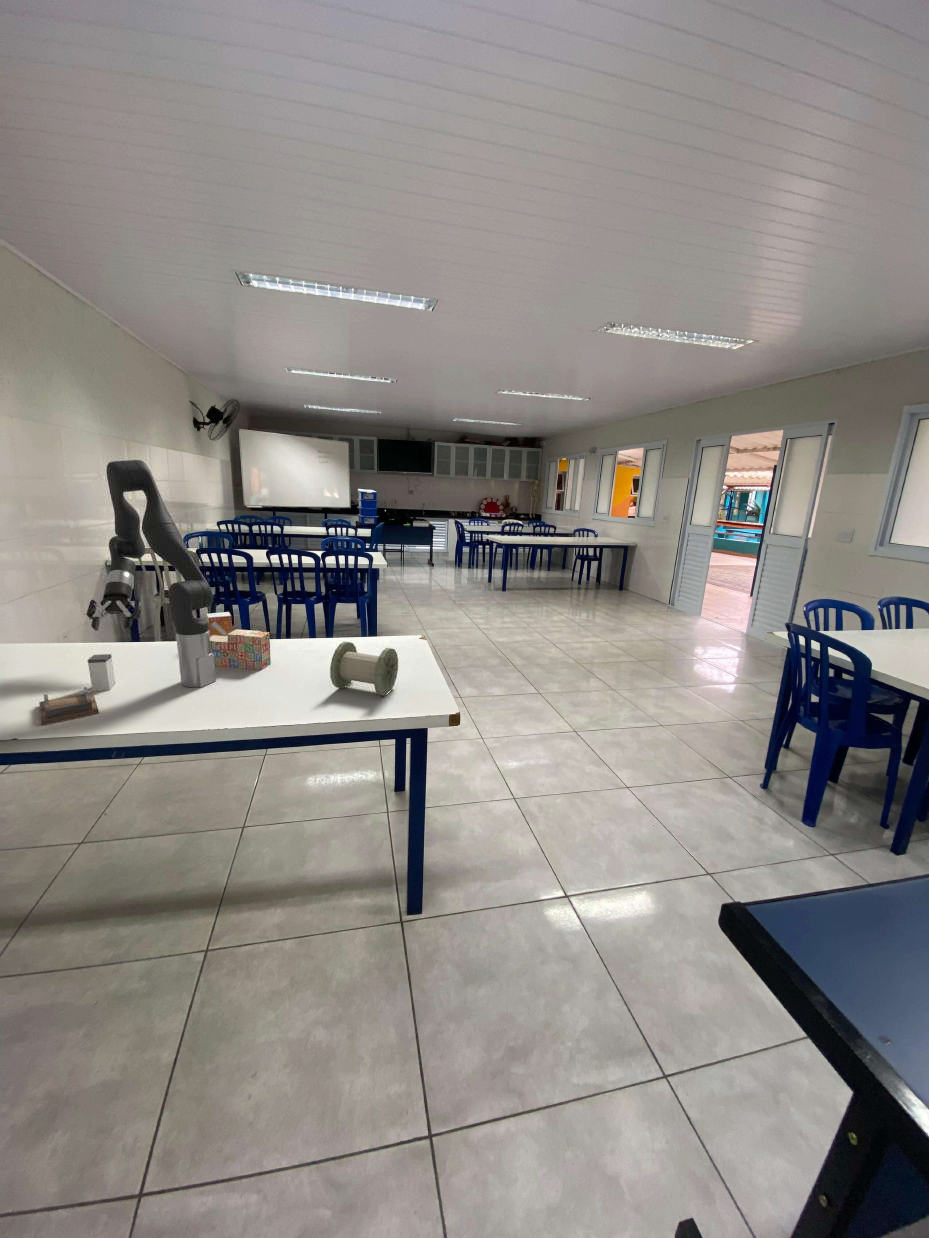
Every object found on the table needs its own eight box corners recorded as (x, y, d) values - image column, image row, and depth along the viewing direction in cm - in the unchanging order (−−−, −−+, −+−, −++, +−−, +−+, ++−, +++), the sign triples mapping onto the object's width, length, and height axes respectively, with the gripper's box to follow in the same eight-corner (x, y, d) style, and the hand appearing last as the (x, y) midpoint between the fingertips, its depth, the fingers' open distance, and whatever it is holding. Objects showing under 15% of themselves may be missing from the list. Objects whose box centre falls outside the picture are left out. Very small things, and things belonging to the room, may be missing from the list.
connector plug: (115, 684, 151) (111, 654, 148) (109, 689, 147) (105, 659, 144) (98, 685, 150) (93, 654, 147) (92, 690, 146) (87, 659, 143)
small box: (210, 650, 185) (207, 617, 181) (208, 645, 190) (205, 613, 186) (233, 647, 189) (231, 615, 186) (231, 642, 194) (228, 611, 191)
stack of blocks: (204, 665, 170) (201, 631, 167) (215, 659, 176) (212, 626, 173) (262, 670, 169) (260, 636, 166) (271, 664, 175) (269, 631, 172)
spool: (397, 685, 162) (398, 643, 159) (378, 703, 148) (378, 657, 145) (353, 677, 167) (353, 636, 163) (330, 694, 153) (329, 649, 149)
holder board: (98, 713, 133) (97, 702, 132) (41, 725, 125) (39, 714, 124) (93, 695, 143) (91, 685, 142) (40, 705, 135) (37, 695, 134)
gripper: (89, 580, 157) (79, 624, 150) (140, 580, 161) (132, 623, 154) (98, 592, 163) (89, 635, 156) (147, 592, 167) (140, 633, 160)
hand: (111, 629), depth 155 cm, fingers open, 8 cm apart
